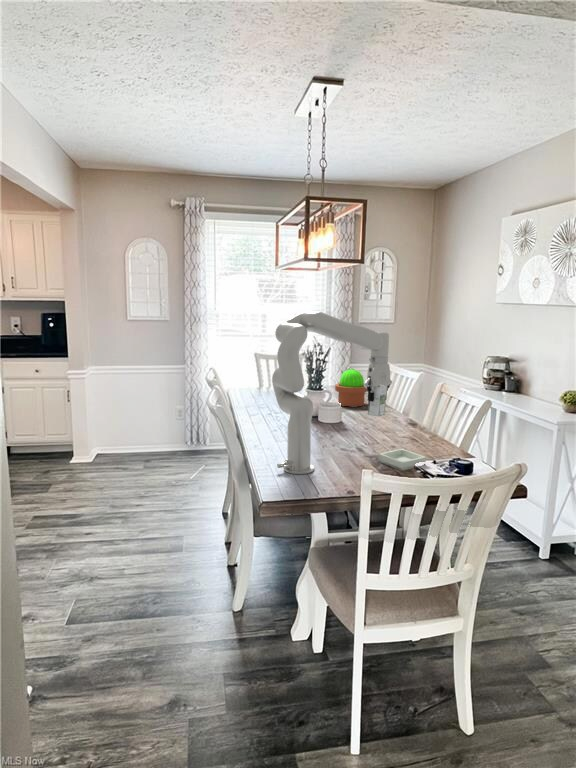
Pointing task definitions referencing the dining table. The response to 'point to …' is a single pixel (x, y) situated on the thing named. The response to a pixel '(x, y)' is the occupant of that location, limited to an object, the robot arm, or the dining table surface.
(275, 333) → the robot arm
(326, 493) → the dining table surface
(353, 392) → the potted cactus
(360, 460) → the dining table surface
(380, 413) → the syrup box
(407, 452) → the tray
